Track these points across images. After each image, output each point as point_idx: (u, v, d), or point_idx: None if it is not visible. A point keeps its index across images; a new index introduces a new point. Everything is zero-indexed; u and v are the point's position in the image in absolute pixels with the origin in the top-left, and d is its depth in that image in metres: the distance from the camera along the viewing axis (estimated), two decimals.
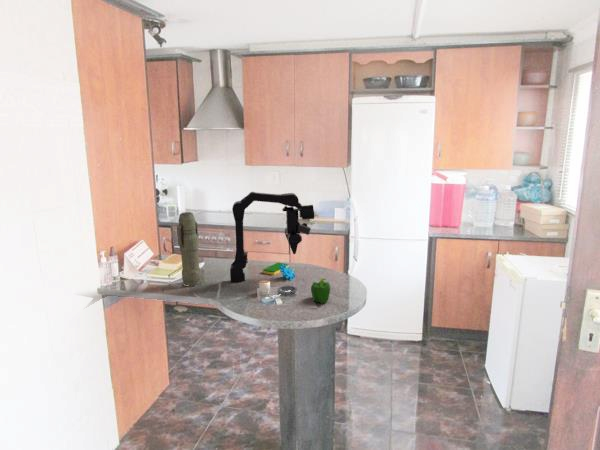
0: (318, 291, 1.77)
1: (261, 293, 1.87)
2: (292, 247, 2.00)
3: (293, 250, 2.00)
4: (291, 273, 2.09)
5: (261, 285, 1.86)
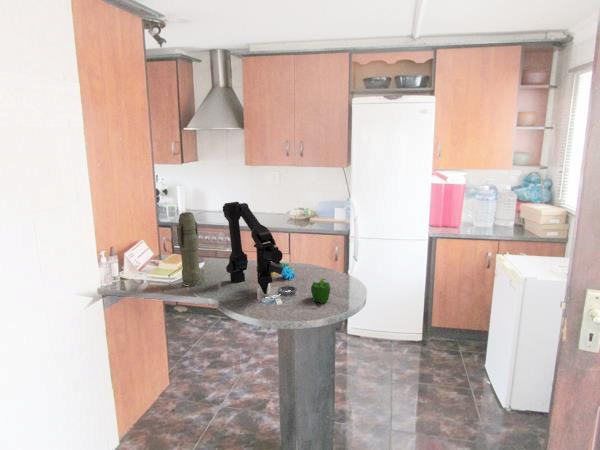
0: (318, 291, 1.77)
1: (261, 293, 1.87)
2: (262, 287, 1.85)
3: (263, 290, 1.85)
4: (291, 273, 2.09)
5: None
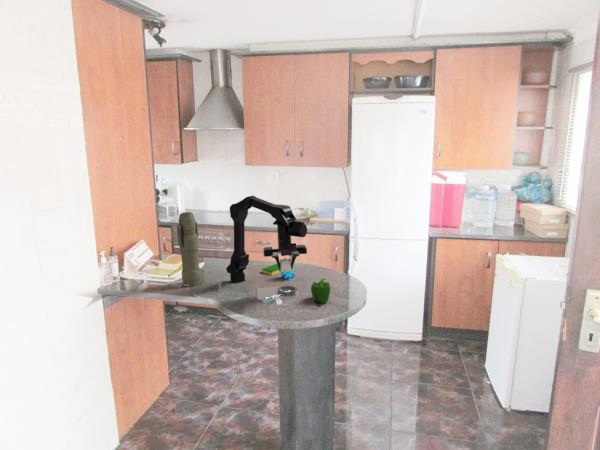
0: (318, 291, 1.77)
1: None
2: None
3: None
4: (290, 273, 2.09)
5: None
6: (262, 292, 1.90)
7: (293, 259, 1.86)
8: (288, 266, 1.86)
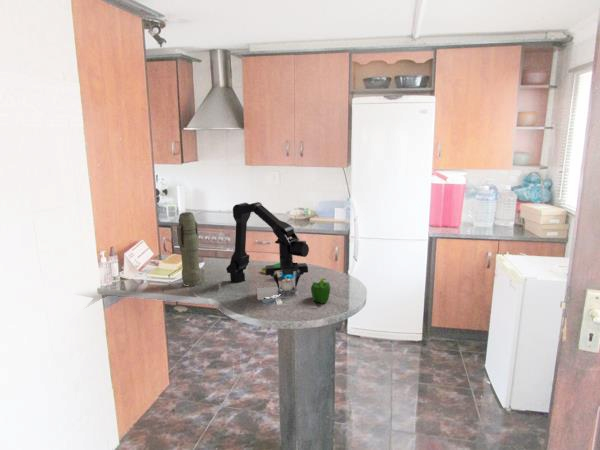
0: (318, 291, 1.77)
1: None
2: None
3: None
4: None
5: None
6: (262, 292, 1.90)
7: (297, 277, 1.88)
8: (289, 287, 1.88)
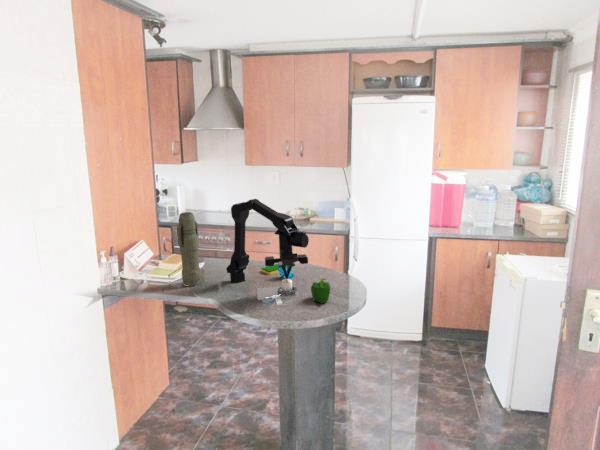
0: (318, 291, 1.77)
1: None
2: None
3: None
4: (290, 273, 2.10)
5: None
6: (262, 292, 1.90)
7: (289, 269, 1.87)
8: (289, 287, 1.88)
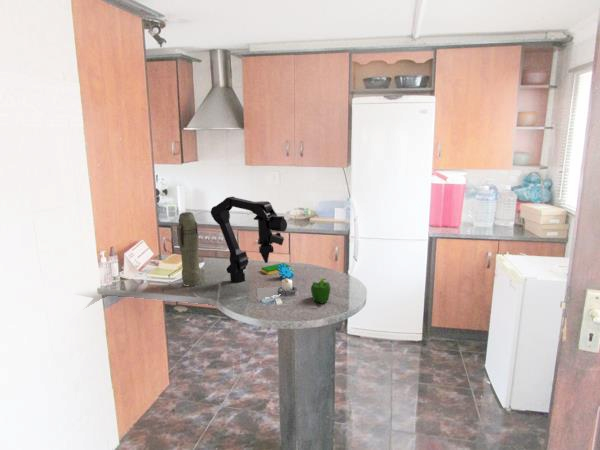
0: (318, 291, 1.77)
1: None
2: (263, 256, 1.93)
3: (265, 259, 1.94)
4: (289, 273, 2.10)
5: None
6: (262, 292, 1.90)
7: None
8: (290, 287, 1.88)
